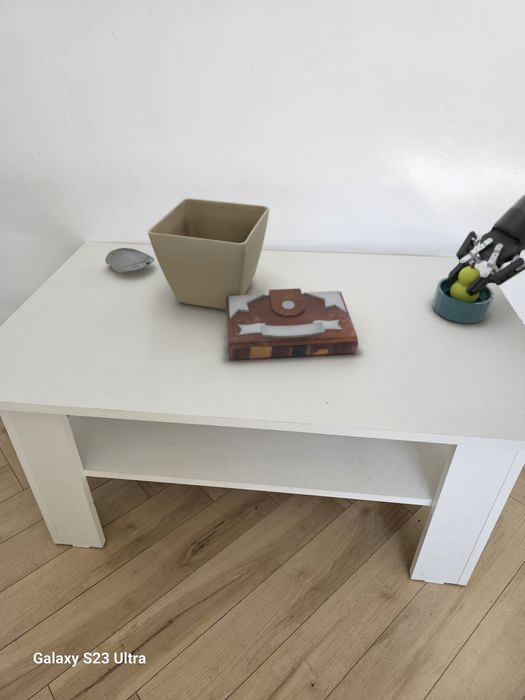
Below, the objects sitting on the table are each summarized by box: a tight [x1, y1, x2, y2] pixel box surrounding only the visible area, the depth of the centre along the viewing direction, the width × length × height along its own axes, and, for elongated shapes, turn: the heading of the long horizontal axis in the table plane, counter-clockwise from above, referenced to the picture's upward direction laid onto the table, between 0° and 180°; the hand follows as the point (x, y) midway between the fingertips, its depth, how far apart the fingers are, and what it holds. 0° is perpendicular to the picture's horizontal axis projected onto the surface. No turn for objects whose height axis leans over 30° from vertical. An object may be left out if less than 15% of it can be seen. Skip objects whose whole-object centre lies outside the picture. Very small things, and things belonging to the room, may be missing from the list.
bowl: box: [432, 276, 495, 324], centre depth 94 cm, size 11×11×5 cm
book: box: [226, 287, 359, 361], centre depth 87 cm, size 23×16×5 cm
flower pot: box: [147, 197, 270, 311], centre depth 95 cm, size 19×19×17 cm
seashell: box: [104, 247, 156, 273], centre depth 106 cm, size 12×8×5 cm
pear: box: [450, 262, 482, 303], centre depth 91 cm, size 5×5×9 cm
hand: (459, 286), depth 91 cm, fingers closed on pear, 4 cm apart
